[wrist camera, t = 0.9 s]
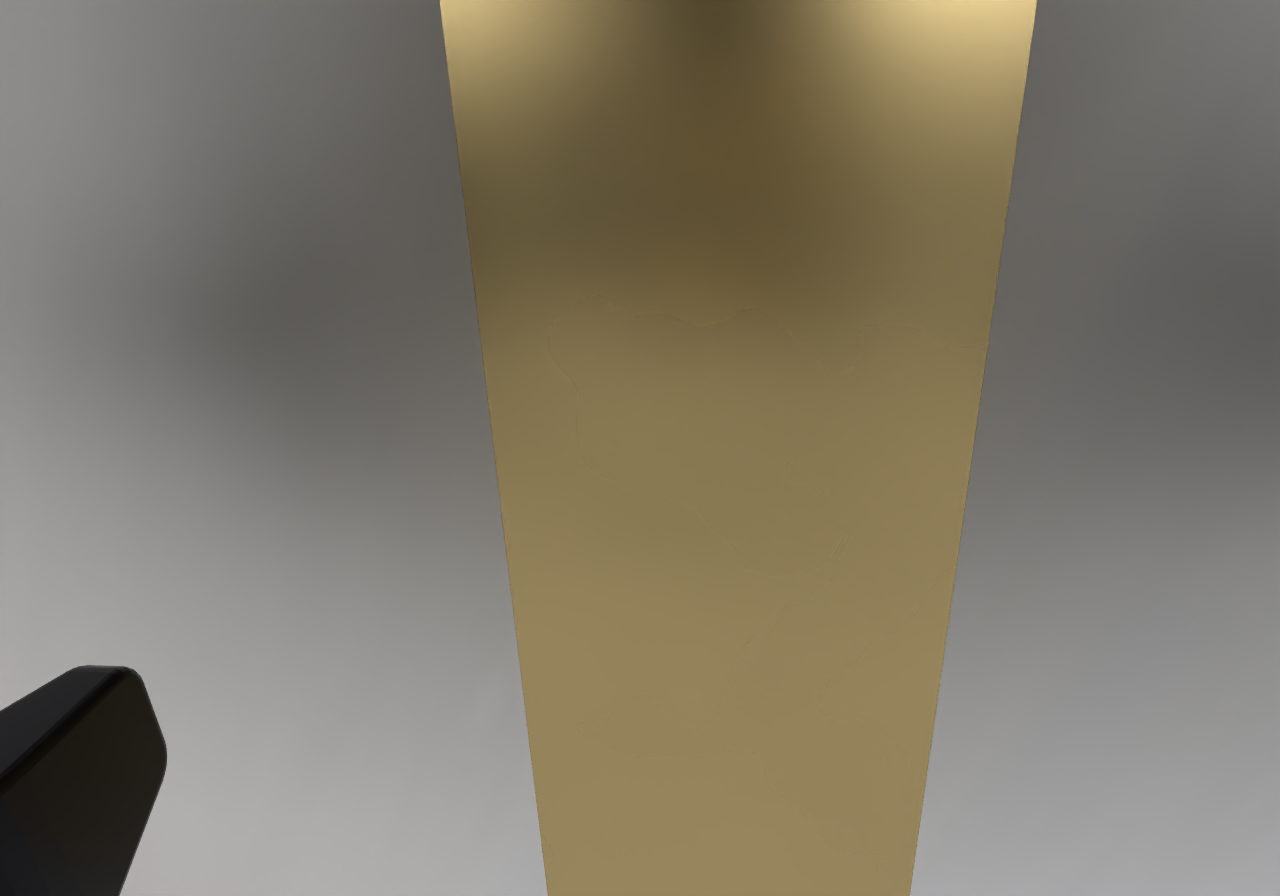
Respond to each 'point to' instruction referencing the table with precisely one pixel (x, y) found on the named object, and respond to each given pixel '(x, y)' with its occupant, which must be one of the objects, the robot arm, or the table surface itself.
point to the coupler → (733, 411)
